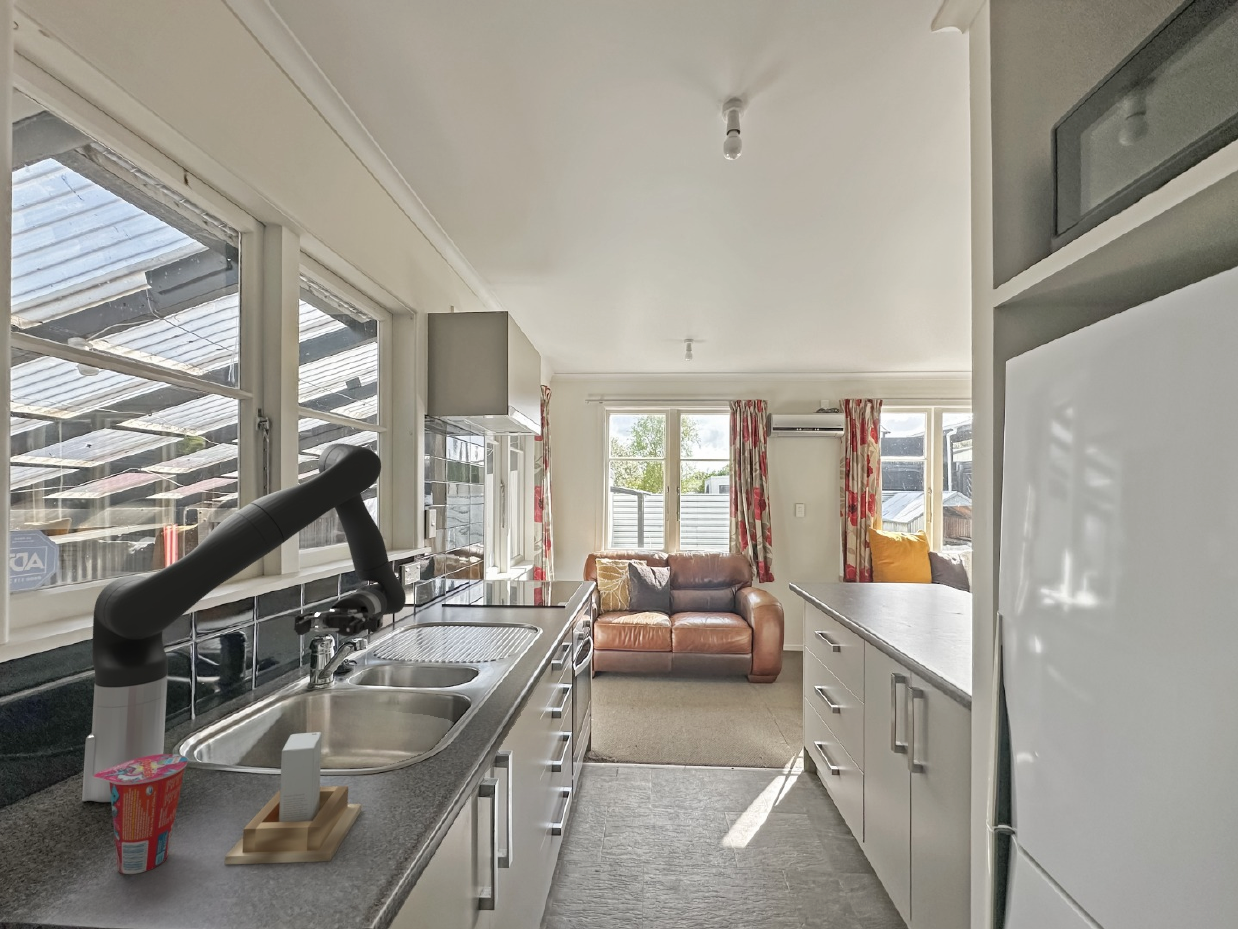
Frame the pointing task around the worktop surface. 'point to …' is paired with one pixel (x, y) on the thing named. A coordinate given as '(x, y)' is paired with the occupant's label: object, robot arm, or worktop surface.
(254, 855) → the socket holder
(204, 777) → the worktop surface
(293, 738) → the skincare box
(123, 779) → the cup
